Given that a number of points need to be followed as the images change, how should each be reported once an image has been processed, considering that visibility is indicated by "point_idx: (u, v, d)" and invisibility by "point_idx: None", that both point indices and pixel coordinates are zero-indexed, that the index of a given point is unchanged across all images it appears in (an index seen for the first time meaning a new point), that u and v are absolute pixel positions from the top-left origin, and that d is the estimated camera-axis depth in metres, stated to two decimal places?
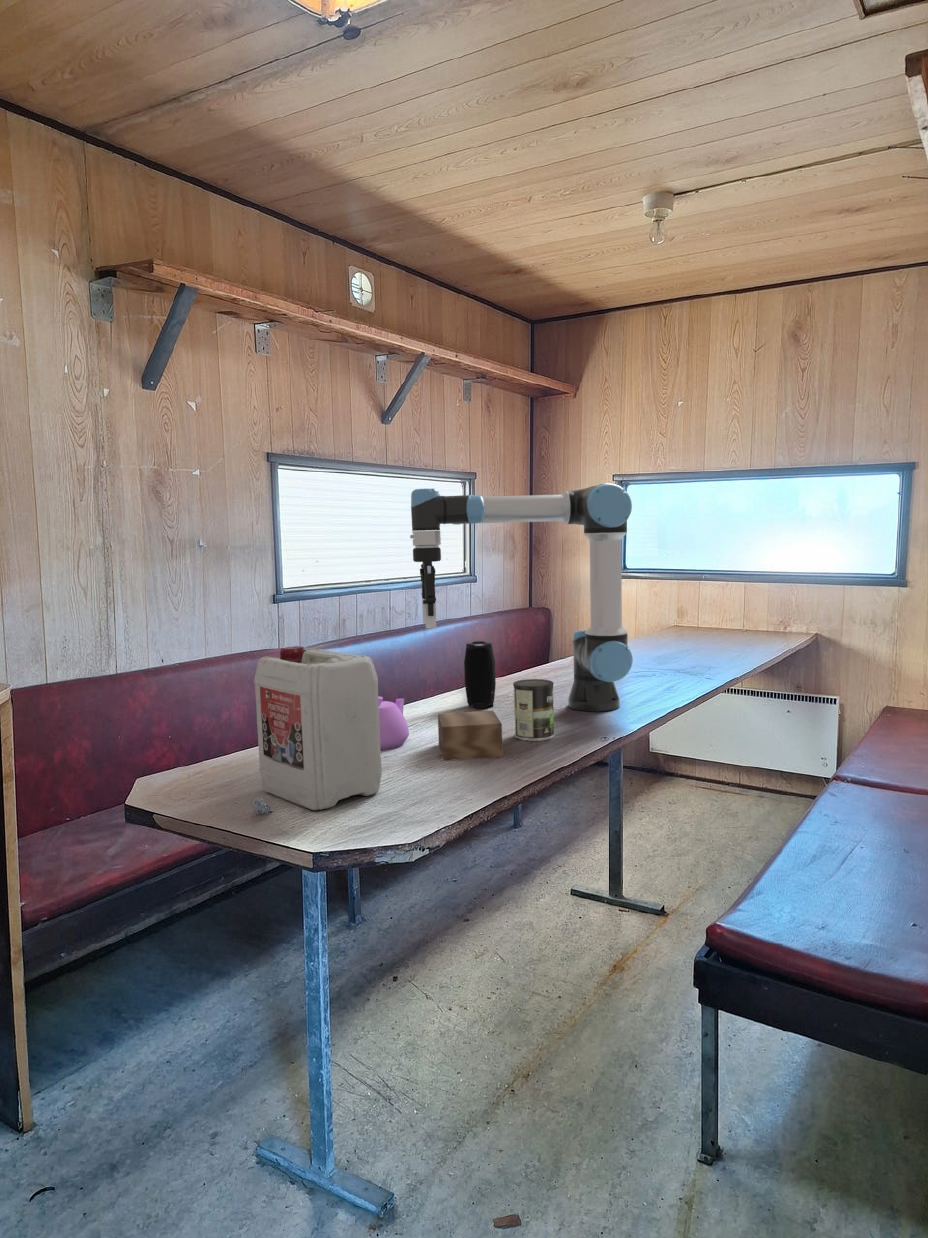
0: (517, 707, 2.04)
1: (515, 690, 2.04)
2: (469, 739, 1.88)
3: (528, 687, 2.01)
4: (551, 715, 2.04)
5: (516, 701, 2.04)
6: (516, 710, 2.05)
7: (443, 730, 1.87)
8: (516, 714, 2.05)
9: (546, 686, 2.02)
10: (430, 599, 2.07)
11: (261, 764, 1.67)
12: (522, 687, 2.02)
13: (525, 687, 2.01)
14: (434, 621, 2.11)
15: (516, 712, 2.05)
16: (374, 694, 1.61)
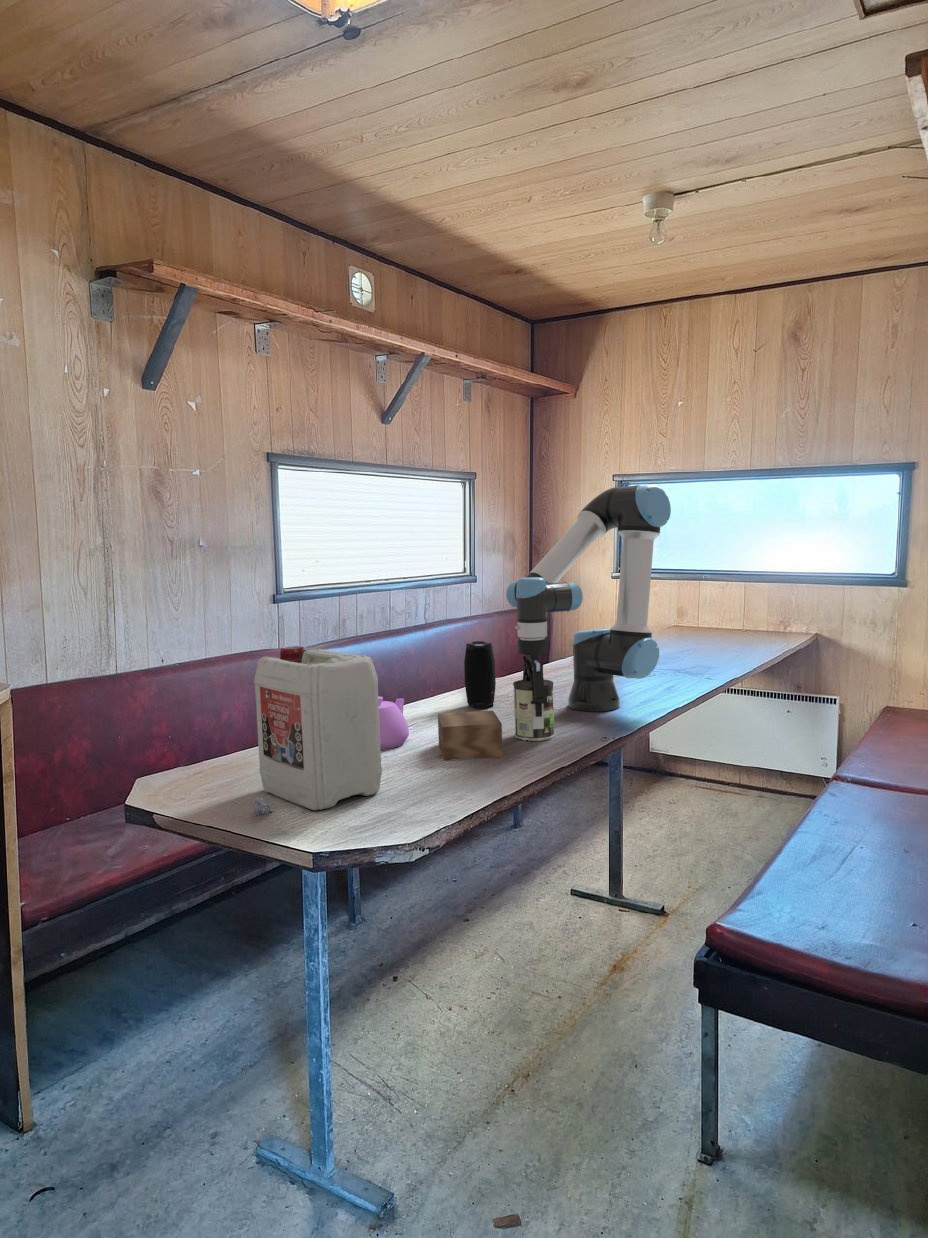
0: (517, 707, 2.04)
1: (515, 690, 2.04)
2: (469, 739, 1.88)
3: (528, 687, 2.01)
4: (551, 715, 2.04)
5: (516, 701, 2.04)
6: (516, 710, 2.05)
7: (443, 730, 1.87)
8: (516, 714, 2.05)
9: (546, 686, 2.02)
10: (539, 701, 1.98)
11: (261, 764, 1.67)
12: (522, 687, 2.02)
13: (525, 687, 2.01)
14: (542, 721, 2.01)
15: (516, 712, 2.05)
16: (374, 694, 1.61)
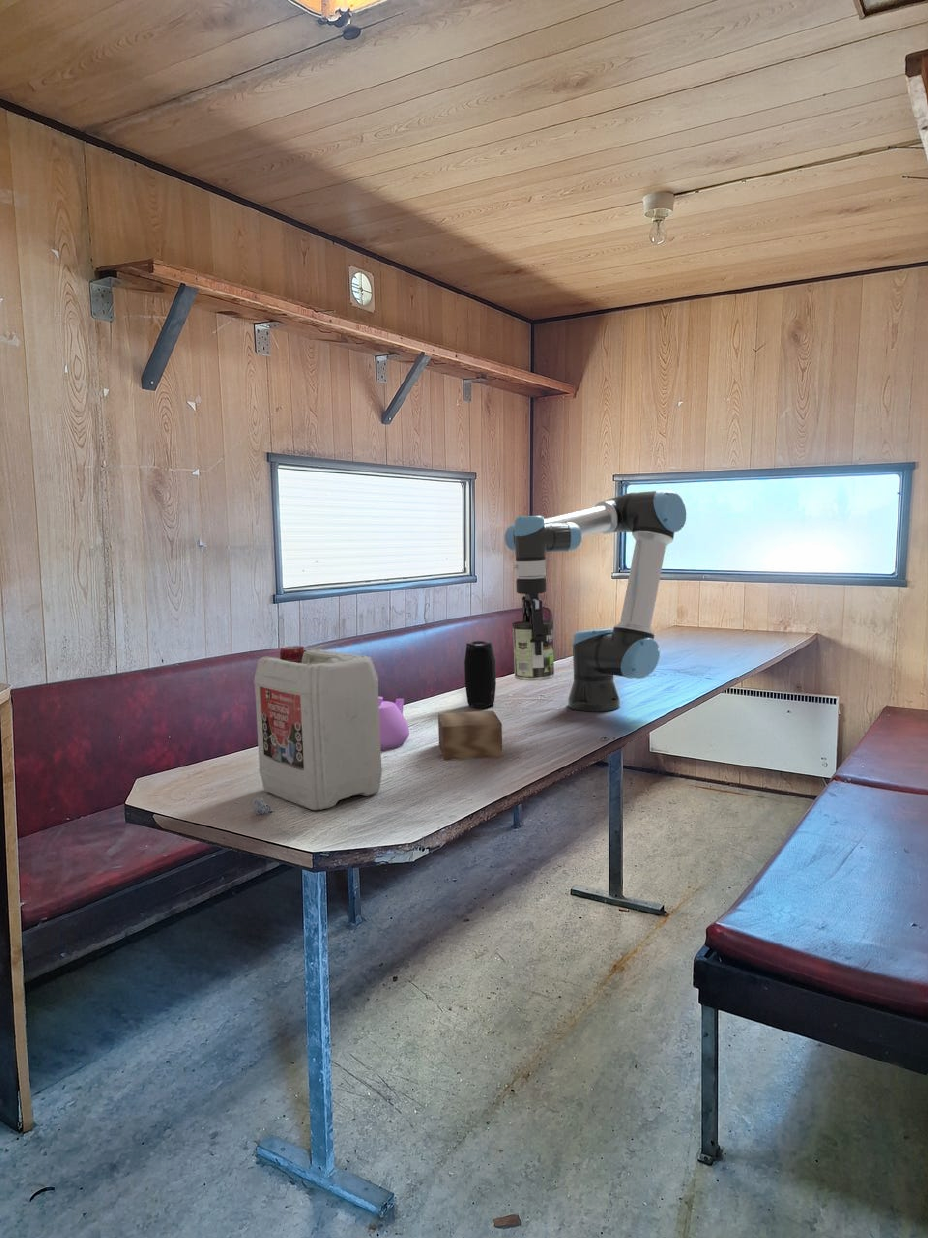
0: (516, 647, 2.03)
1: (514, 630, 2.03)
2: (469, 739, 1.88)
3: (527, 626, 2.00)
4: (551, 654, 2.03)
5: (515, 641, 2.03)
6: (515, 650, 2.03)
7: (443, 730, 1.87)
8: (515, 654, 2.03)
9: (545, 625, 2.00)
10: (539, 638, 1.96)
11: (261, 764, 1.67)
12: (521, 626, 2.00)
13: (524, 626, 2.00)
14: (541, 660, 2.00)
15: (515, 652, 2.03)
16: (374, 694, 1.61)
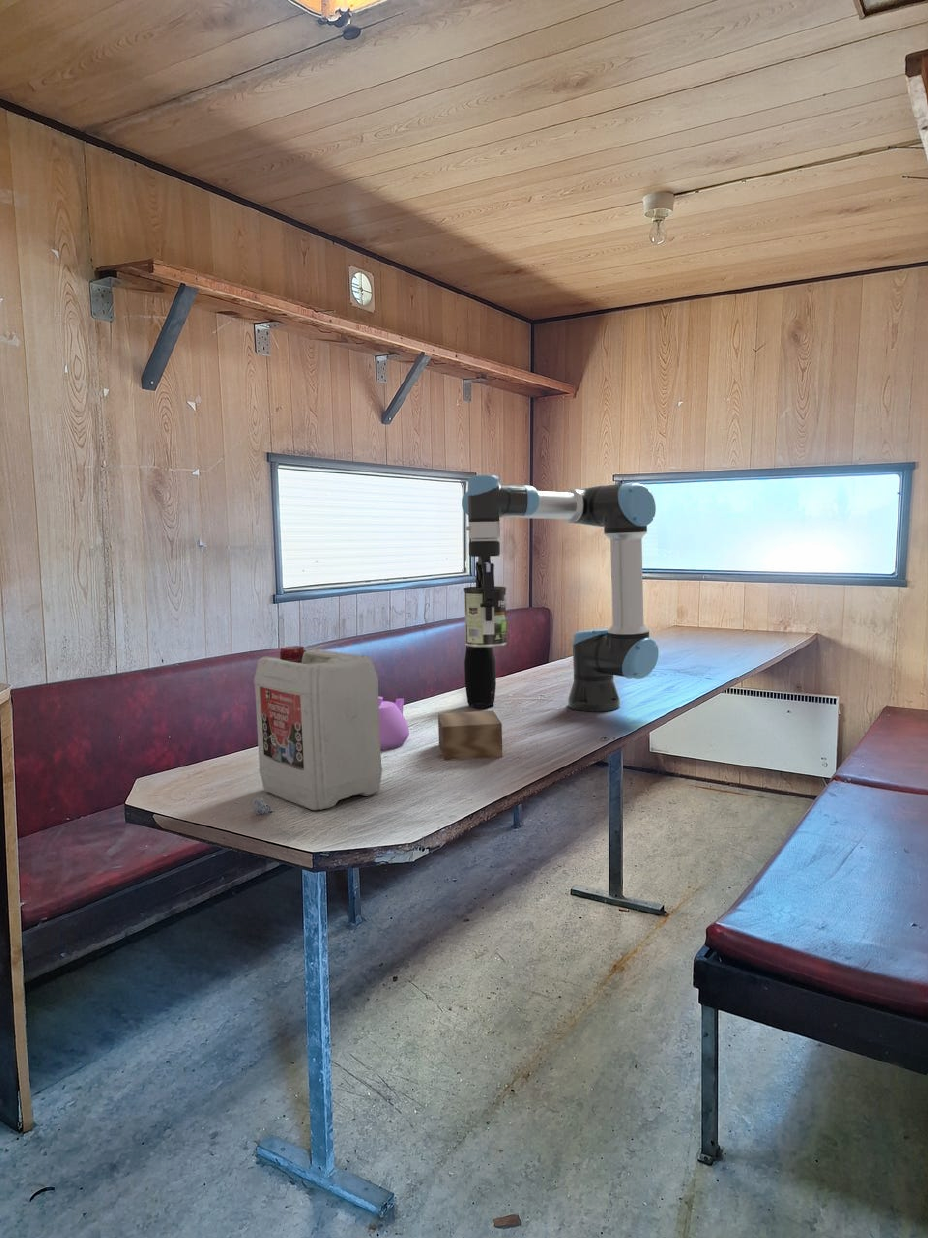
0: (467, 612, 1.93)
1: (465, 594, 1.93)
2: (469, 739, 1.88)
3: (478, 590, 1.90)
4: (503, 621, 1.93)
5: (466, 606, 1.93)
6: (466, 616, 1.93)
7: (443, 730, 1.87)
8: (466, 620, 1.94)
9: (497, 589, 1.91)
10: (489, 602, 1.86)
11: (261, 764, 1.67)
12: (472, 590, 1.91)
13: (475, 590, 1.90)
14: (492, 626, 1.90)
15: (466, 618, 1.94)
16: (374, 694, 1.61)
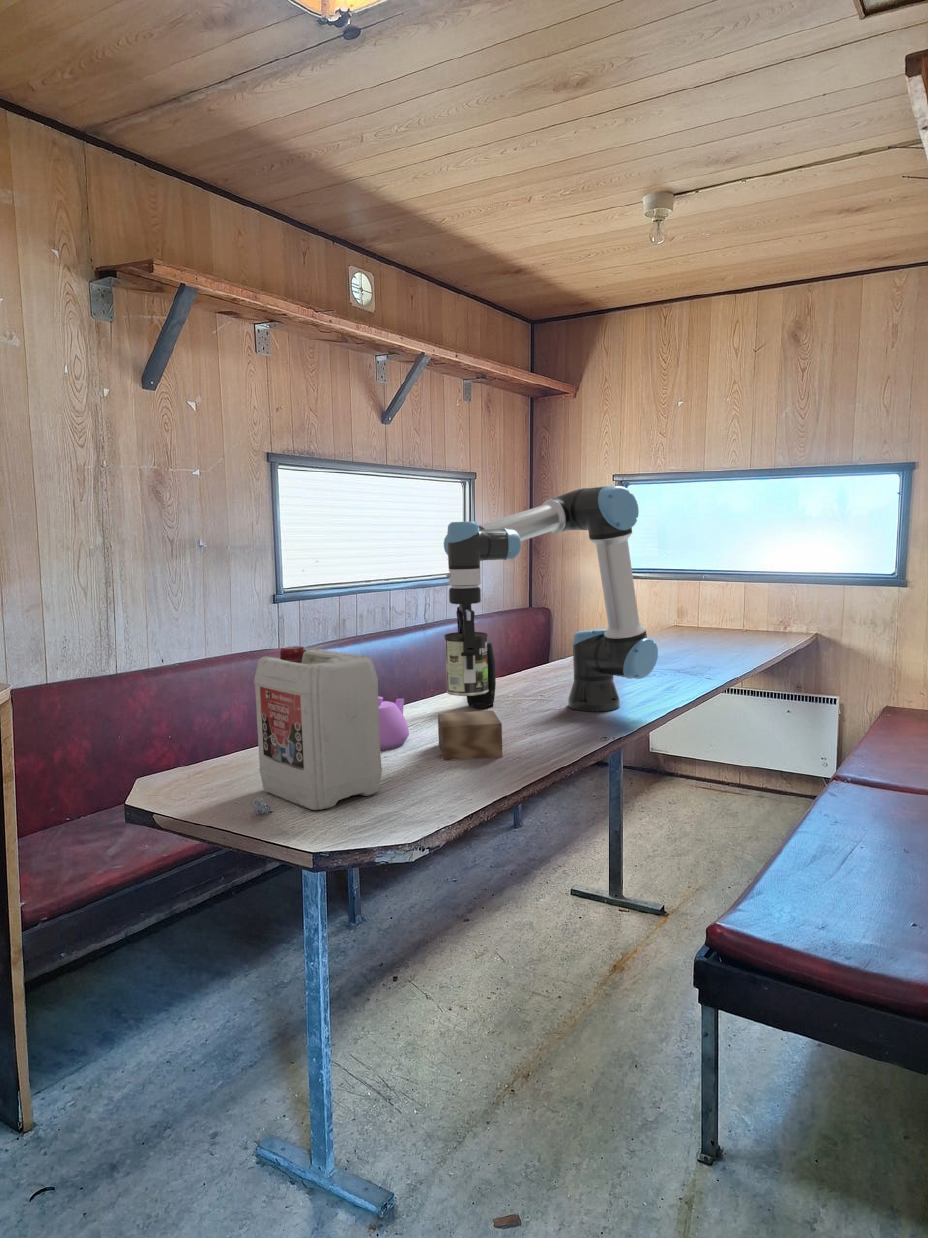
0: (448, 660, 1.91)
1: (446, 642, 1.91)
2: (469, 739, 1.88)
3: (459, 638, 1.88)
4: (484, 669, 1.91)
5: (447, 654, 1.91)
6: (447, 663, 1.91)
7: (443, 730, 1.87)
8: (447, 668, 1.91)
9: (478, 637, 1.88)
10: (470, 652, 1.84)
11: (261, 764, 1.67)
12: (452, 638, 1.88)
13: (455, 638, 1.88)
14: (473, 675, 1.88)
15: (447, 665, 1.91)
16: (374, 694, 1.61)
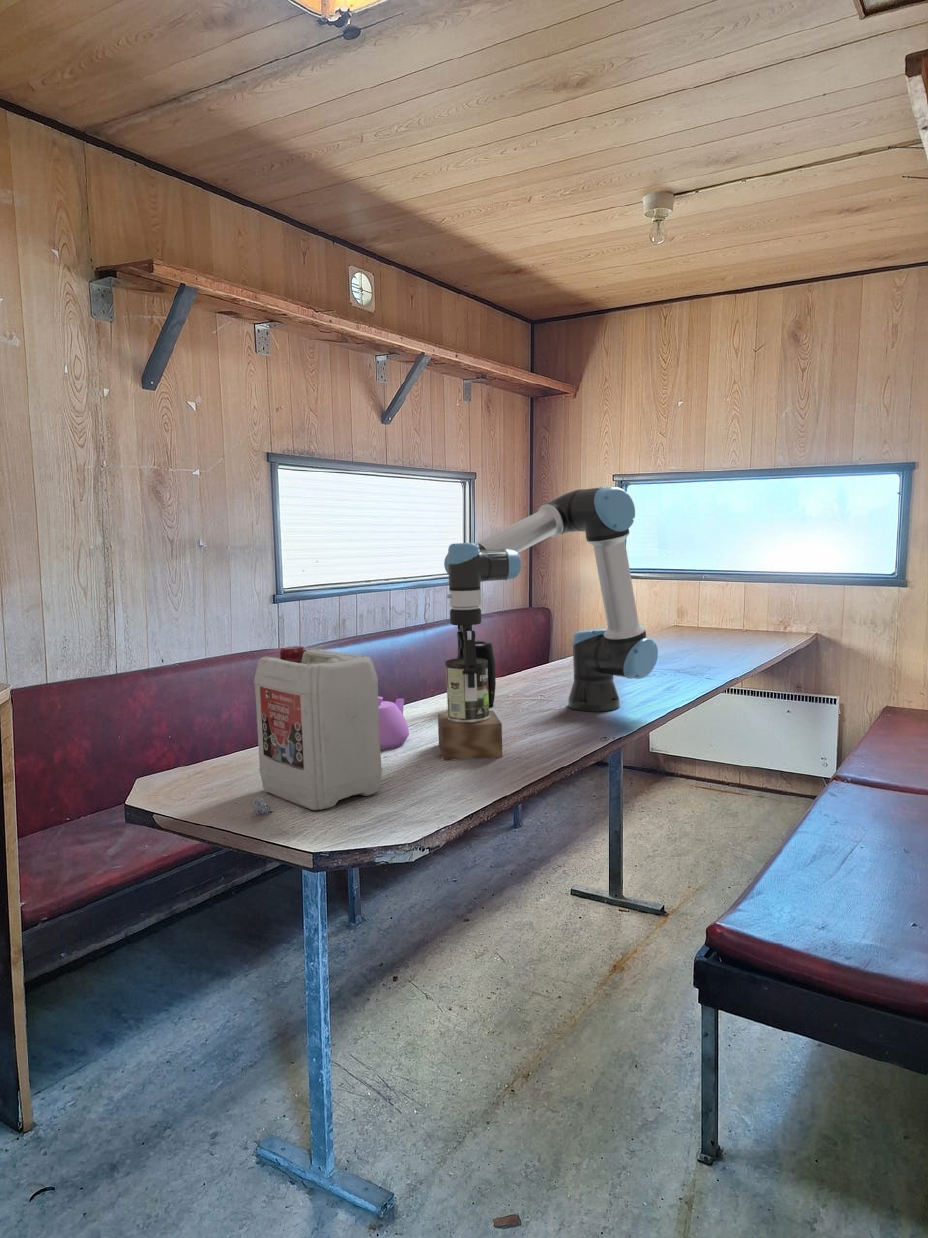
0: (449, 687, 1.92)
1: (447, 669, 1.92)
2: (469, 739, 1.88)
3: (459, 665, 1.89)
4: (485, 695, 1.92)
5: (448, 680, 1.92)
6: (448, 690, 1.92)
7: (443, 730, 1.87)
8: (448, 694, 1.93)
9: (479, 664, 1.89)
10: (471, 670, 1.83)
11: (261, 764, 1.67)
12: (453, 665, 1.90)
13: (456, 665, 1.89)
14: (475, 693, 1.87)
15: (448, 692, 1.93)
16: (374, 694, 1.61)
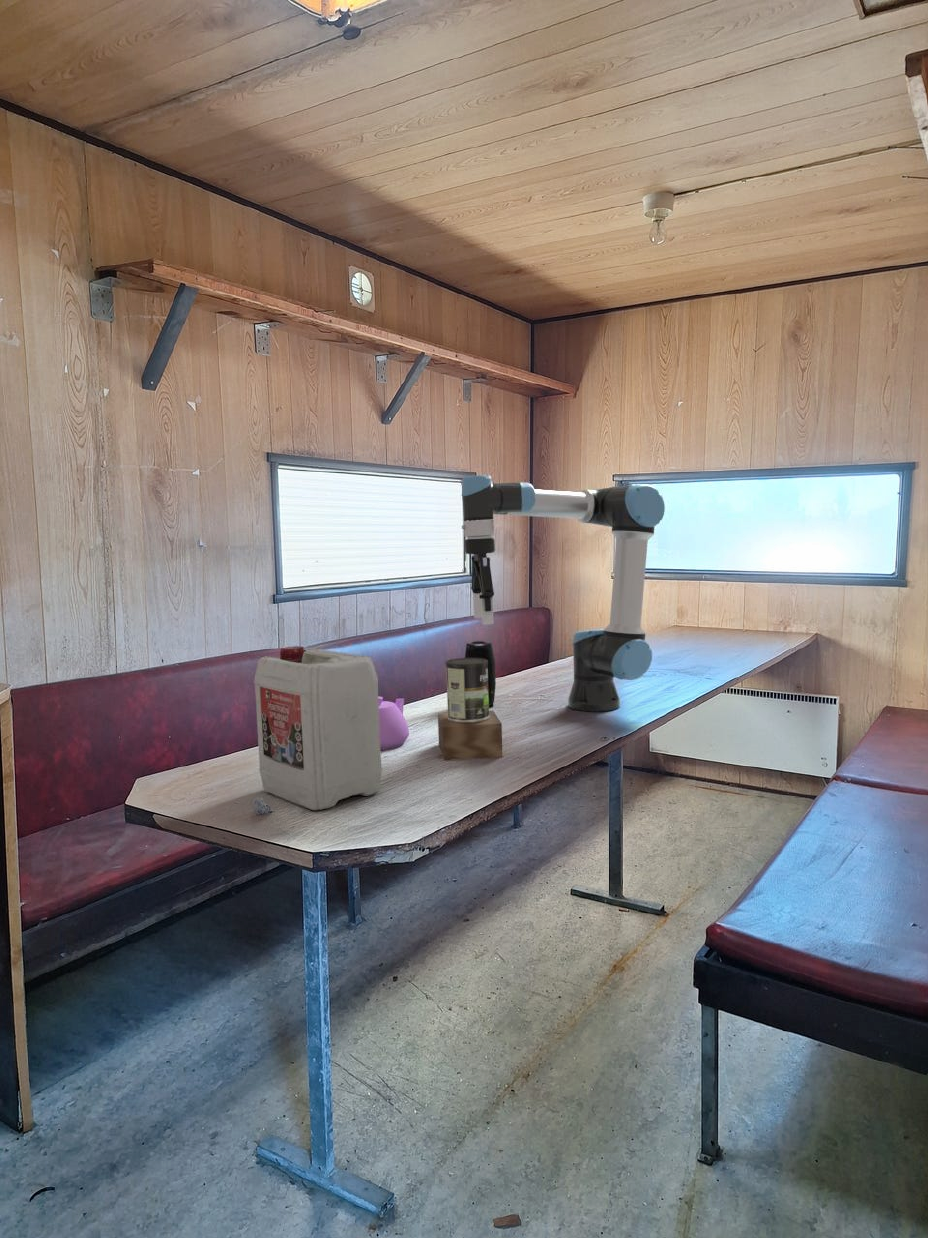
0: (449, 687, 1.92)
1: (447, 669, 1.92)
2: (469, 739, 1.88)
3: (459, 665, 1.89)
4: (485, 695, 1.92)
5: (448, 680, 1.92)
6: (448, 690, 1.92)
7: (443, 730, 1.87)
8: (448, 694, 1.93)
9: (479, 664, 1.89)
10: (488, 593, 1.94)
11: (261, 764, 1.67)
12: (453, 665, 1.90)
13: (456, 665, 1.89)
14: (491, 617, 1.98)
15: (448, 692, 1.93)
16: (374, 694, 1.61)
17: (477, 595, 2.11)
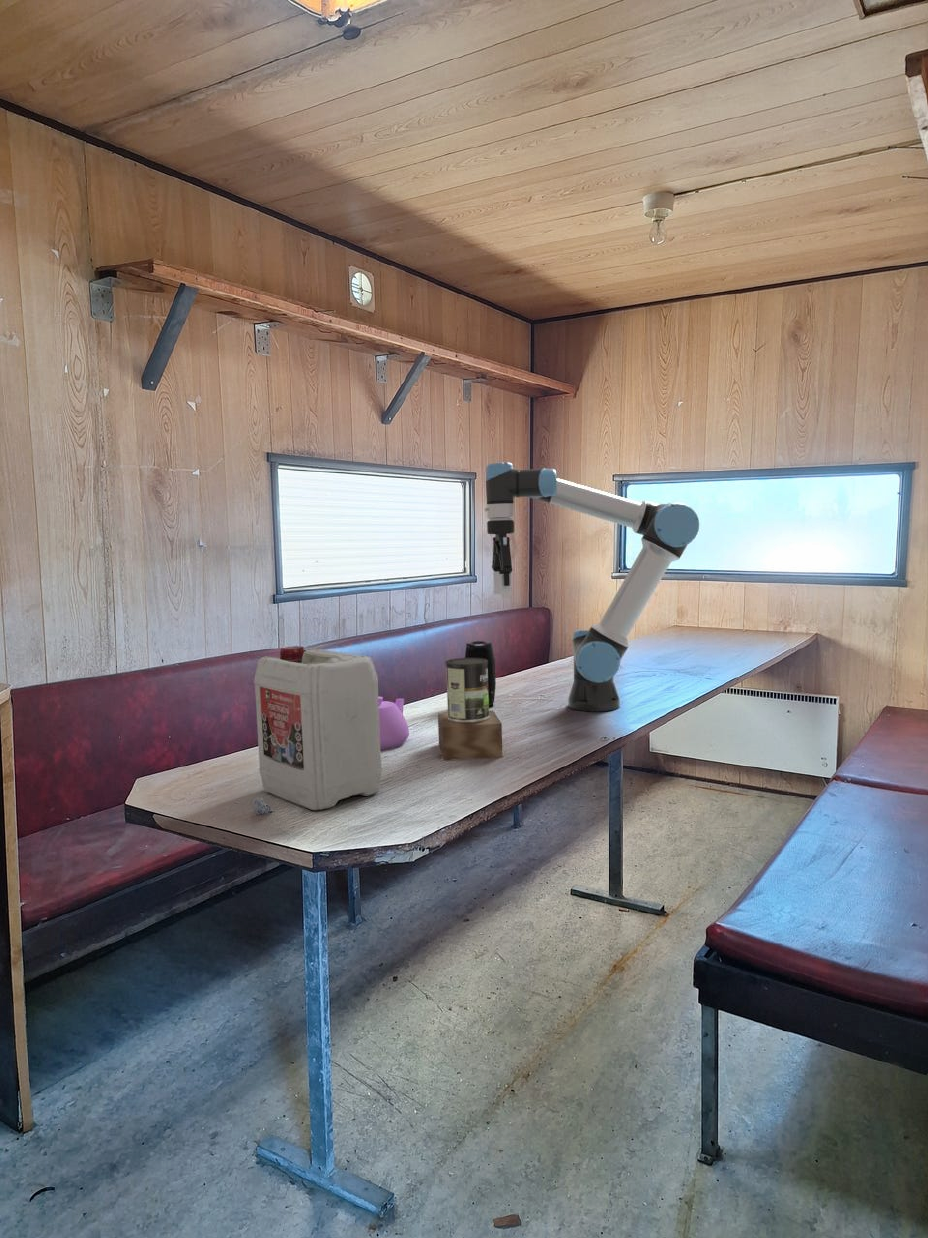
0: (449, 687, 1.92)
1: (447, 669, 1.92)
2: (469, 739, 1.88)
3: (459, 665, 1.89)
4: (485, 695, 1.92)
5: (448, 680, 1.92)
6: (448, 690, 1.92)
7: (443, 730, 1.87)
8: (448, 694, 1.93)
9: (479, 664, 1.89)
10: (507, 569, 2.14)
11: (261, 764, 1.67)
12: (453, 665, 1.90)
13: (456, 665, 1.89)
14: (509, 591, 2.18)
15: (448, 692, 1.92)
16: (374, 694, 1.61)
17: (497, 573, 2.31)
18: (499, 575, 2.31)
